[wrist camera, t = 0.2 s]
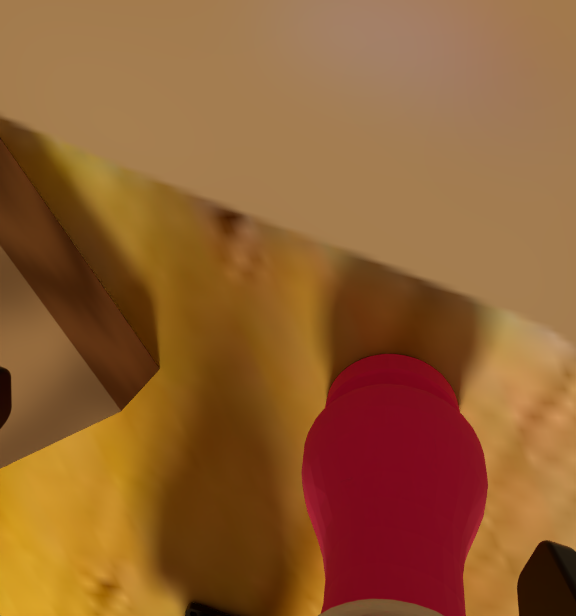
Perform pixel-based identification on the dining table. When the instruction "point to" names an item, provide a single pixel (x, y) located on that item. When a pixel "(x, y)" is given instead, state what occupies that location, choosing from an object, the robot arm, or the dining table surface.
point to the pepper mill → (393, 490)
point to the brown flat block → (56, 328)
